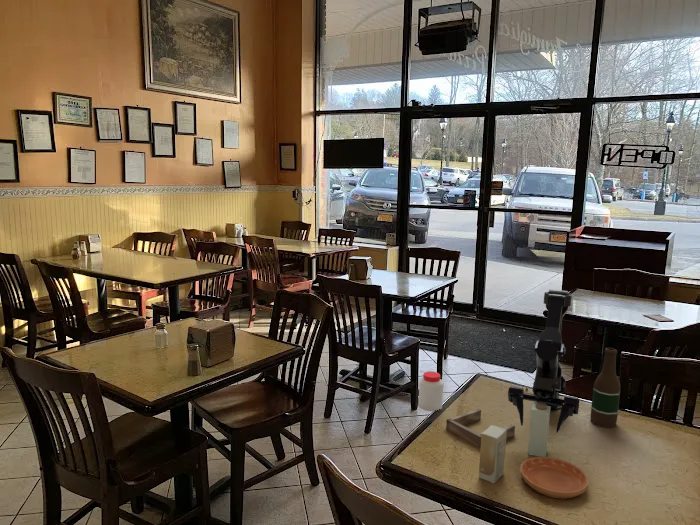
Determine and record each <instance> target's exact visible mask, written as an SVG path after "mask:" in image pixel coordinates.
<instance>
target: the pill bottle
mask: <svg viewBox="0 0 700 525" xmlns="http://www.w3.org/2000/svg"><path fill="white" fill-rule="evenodd" d="M422 376H423V377H422V378H420V380H419V387H418V407H419V408H420V409H422V410H424V411H425V412H426V411H427V412H438V411H440V410H442V408H443V399H444V398H443V396H444V395H443V394H444V382H443V380H442V379H441V374H440V373H439V372H436V371H425V372H423V375H422ZM437 409H438V411H437ZM439 409H440V410H439ZM435 410H436V411H435Z"/></svg>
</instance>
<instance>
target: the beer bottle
mask: <svg viewBox="0 0 700 525" xmlns="http://www.w3.org/2000/svg"><path fill="white" fill-rule="evenodd" d="M617 354H618V350H617V349H615V348H614V347H605V349H604V357H603V363H602V369H601V372H600V373H599V374H598V375H597V376H596V379H595V380H594V383H593V389H592V400H591V407H590V422H591V423H592V424H594V425H595V426H598V427H601V428H606V429H608V428H609V429H610V428H615V427H616V425H617V422H618V416H619V415H618V414H619V406H620V397H621V396H620V395H621V382H620V380H619V377H618V376H617V370H616V367H617Z"/></svg>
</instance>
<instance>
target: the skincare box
mask: <svg viewBox="0 0 700 525" xmlns="http://www.w3.org/2000/svg"><path fill="white" fill-rule="evenodd" d="M503 428H504V427H501V426H496V425H494V424H493V425H492V424H490V425H489V426H488V427H487V428H486V429H484V431H482V432H481V433H480V435H481V448H480V453H479V469H478V478H479V479H482V480H484V481H487V482H489V483H491V484H495V483H496V482H497V481H498V480H499V479H500V478H501V477H502V476H503V474H504V473H505V462H506V448H507V439H506V435H507V430H506V429H503Z"/></svg>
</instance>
